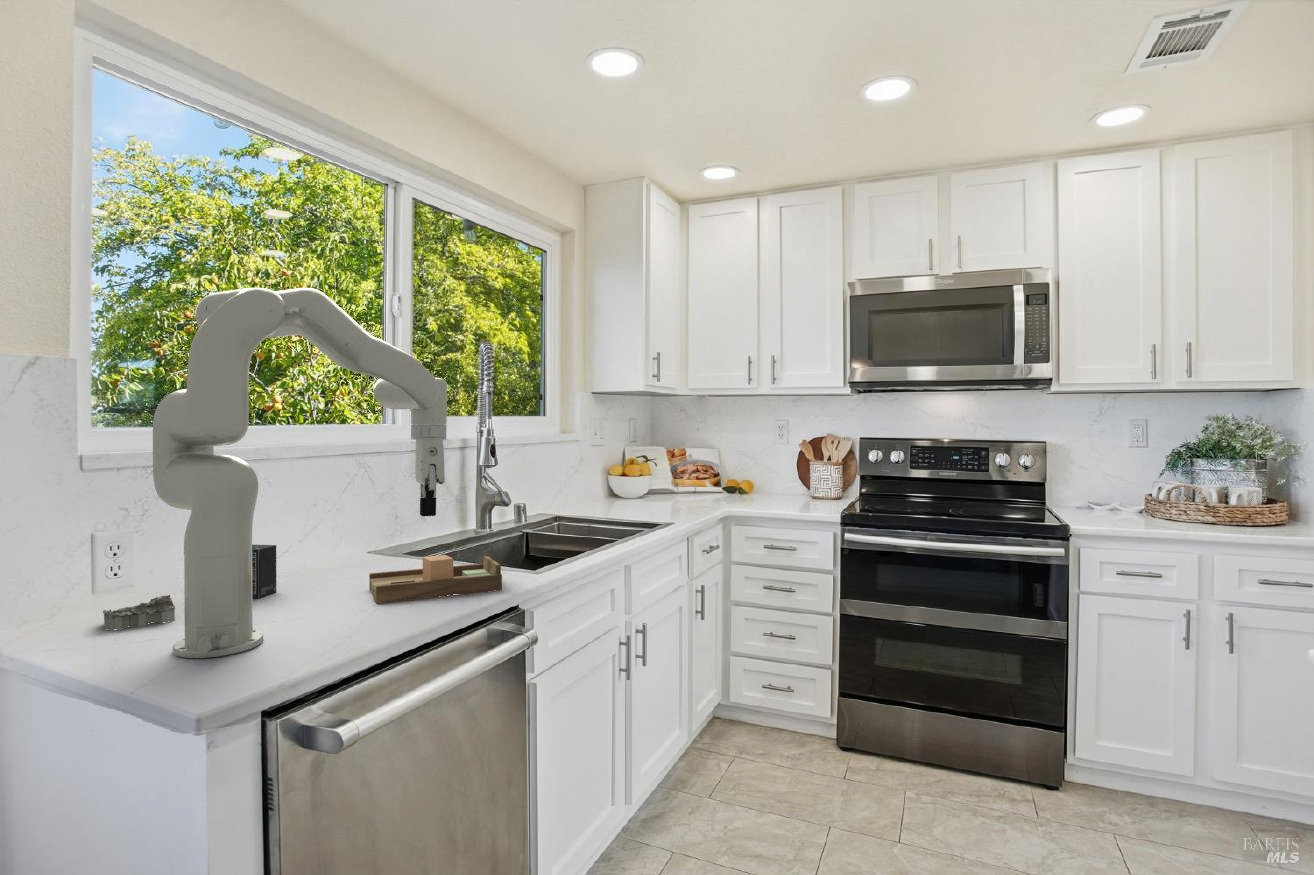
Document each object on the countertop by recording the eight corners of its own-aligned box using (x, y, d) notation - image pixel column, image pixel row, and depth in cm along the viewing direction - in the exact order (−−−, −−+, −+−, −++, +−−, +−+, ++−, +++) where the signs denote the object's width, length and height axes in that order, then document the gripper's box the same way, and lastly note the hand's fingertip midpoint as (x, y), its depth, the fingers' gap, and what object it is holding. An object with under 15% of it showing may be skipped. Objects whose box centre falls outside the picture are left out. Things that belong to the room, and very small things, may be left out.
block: (453, 581, 153) (453, 558, 153) (430, 584, 150) (430, 561, 150) (445, 577, 157) (445, 554, 157) (422, 580, 154) (422, 557, 154)
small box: (278, 591, 153) (278, 543, 153) (259, 599, 147) (258, 549, 146) (233, 590, 154) (233, 542, 154) (211, 597, 148) (211, 547, 147)
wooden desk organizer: (501, 590, 156) (501, 565, 156) (376, 603, 144) (376, 576, 144) (486, 577, 168) (486, 554, 168) (369, 588, 156) (369, 564, 156)
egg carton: (173, 615, 135) (173, 593, 135) (176, 623, 129) (176, 601, 129) (102, 624, 129) (102, 601, 129) (102, 633, 123) (102, 610, 123)
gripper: (453, 433, 151) (452, 519, 151) (439, 433, 164) (438, 511, 165) (416, 433, 148) (415, 520, 148) (406, 432, 161) (405, 512, 161)
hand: (427, 515), depth 156 cm, fingers closed
